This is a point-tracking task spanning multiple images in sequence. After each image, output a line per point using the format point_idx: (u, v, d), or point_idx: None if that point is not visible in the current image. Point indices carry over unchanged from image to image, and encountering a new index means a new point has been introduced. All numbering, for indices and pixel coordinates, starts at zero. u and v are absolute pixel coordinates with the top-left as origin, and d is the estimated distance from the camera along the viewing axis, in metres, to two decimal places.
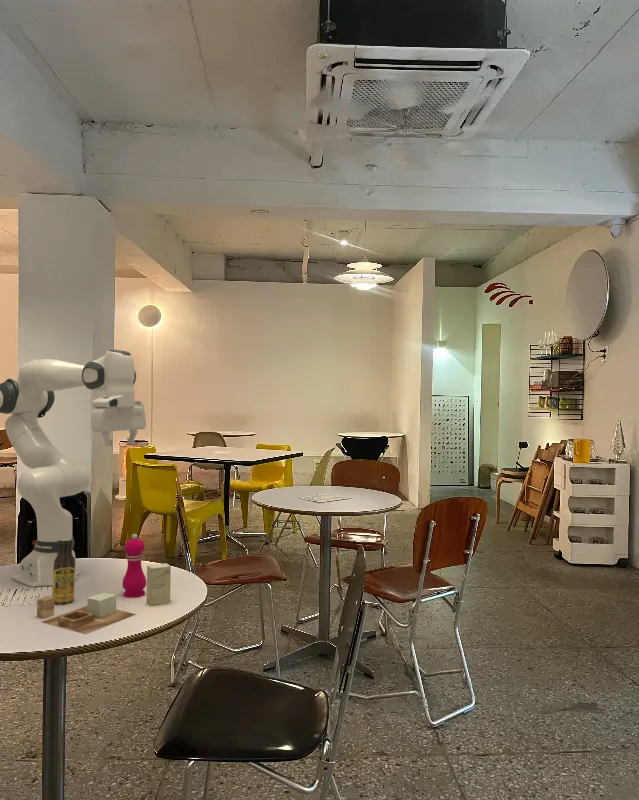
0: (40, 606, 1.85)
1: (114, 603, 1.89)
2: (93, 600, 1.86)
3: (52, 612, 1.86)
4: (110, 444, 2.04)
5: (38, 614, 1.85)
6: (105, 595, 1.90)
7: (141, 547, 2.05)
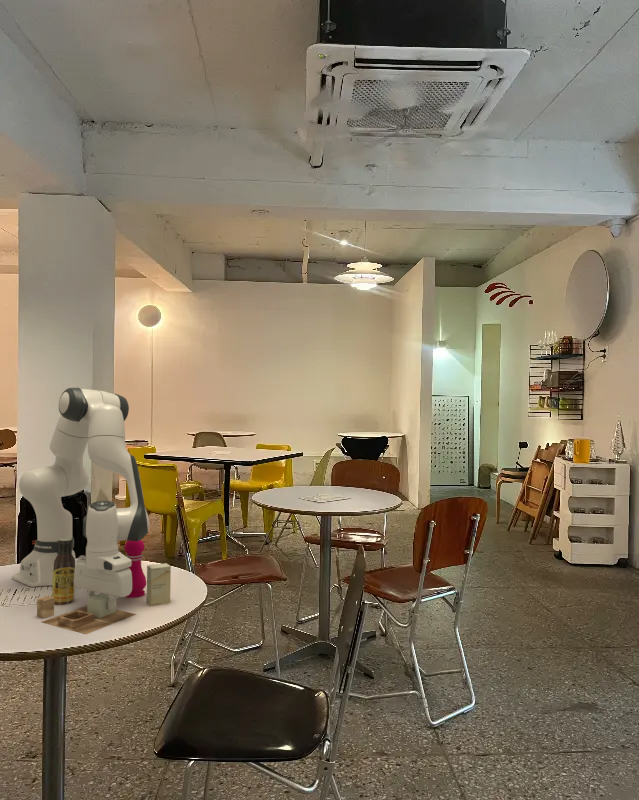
0: (40, 606, 1.85)
1: (114, 603, 1.89)
2: (93, 600, 1.86)
3: (52, 612, 1.86)
4: None
5: (38, 614, 1.85)
6: (105, 595, 1.90)
7: (141, 547, 2.05)
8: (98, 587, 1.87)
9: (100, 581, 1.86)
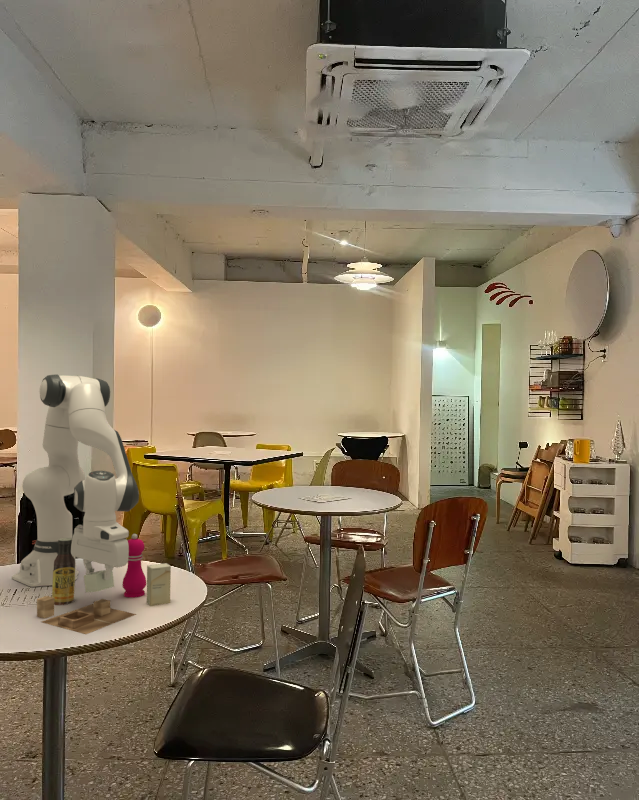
0: (40, 606, 1.85)
1: (111, 577, 1.89)
2: (89, 575, 1.86)
3: (52, 612, 1.86)
4: None
5: (38, 614, 1.85)
6: (101, 571, 1.90)
7: (141, 547, 2.05)
8: (95, 557, 1.86)
9: (96, 550, 1.86)
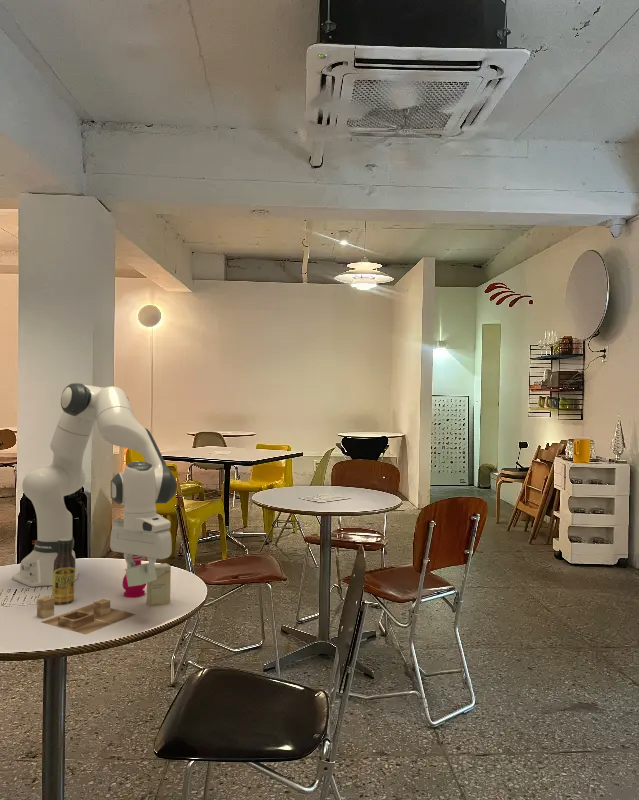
0: (40, 606, 1.85)
1: (153, 570, 1.84)
2: (131, 569, 1.81)
3: (52, 612, 1.86)
4: None
5: (38, 614, 1.85)
6: (142, 564, 1.85)
7: None
8: (137, 550, 1.81)
9: (138, 543, 1.81)
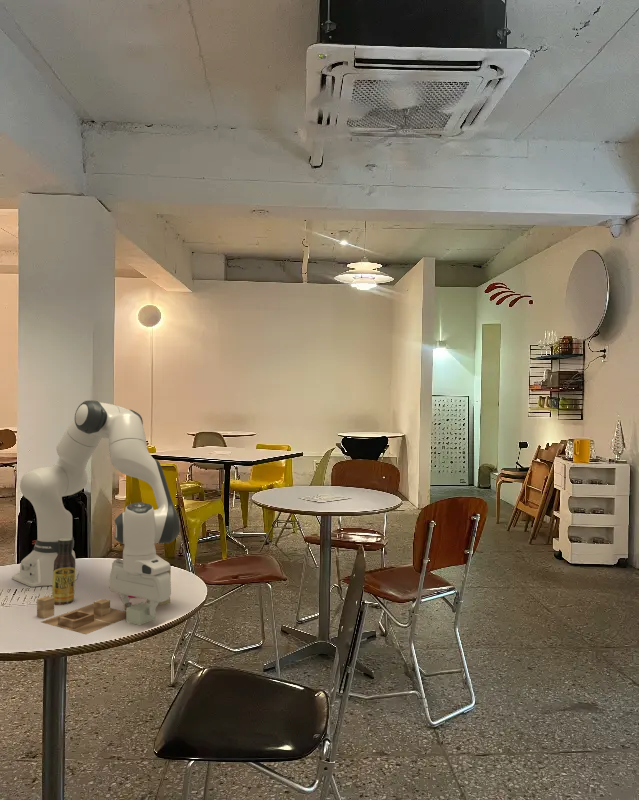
0: (40, 606, 1.85)
1: None
2: (132, 610, 1.81)
3: (52, 612, 1.86)
4: None
5: (38, 614, 1.85)
6: (144, 605, 1.84)
7: None
8: (136, 591, 1.81)
9: (137, 585, 1.81)
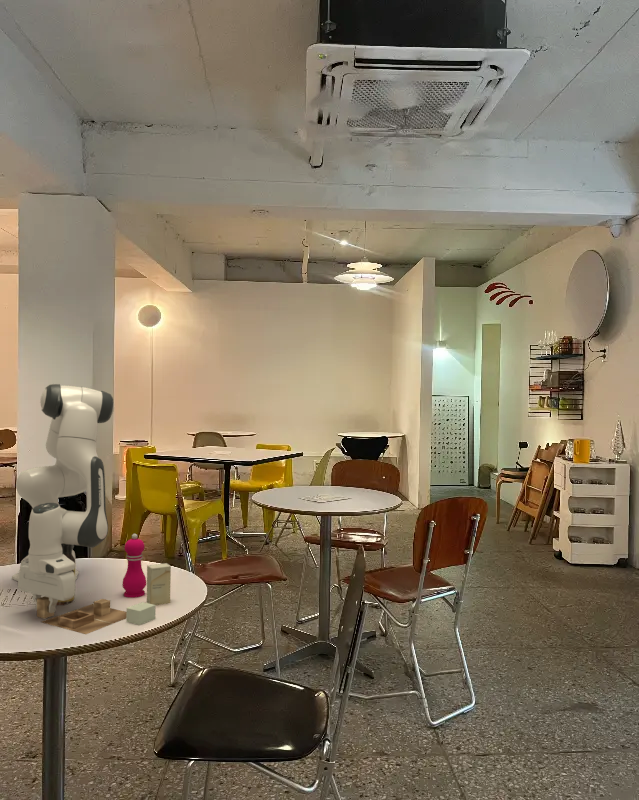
0: (40, 606, 1.85)
1: (153, 613, 1.84)
2: (132, 610, 1.81)
3: None
4: None
5: (38, 614, 1.85)
6: (144, 605, 1.84)
7: (142, 547, 2.05)
8: (41, 590, 1.84)
9: (42, 584, 1.84)
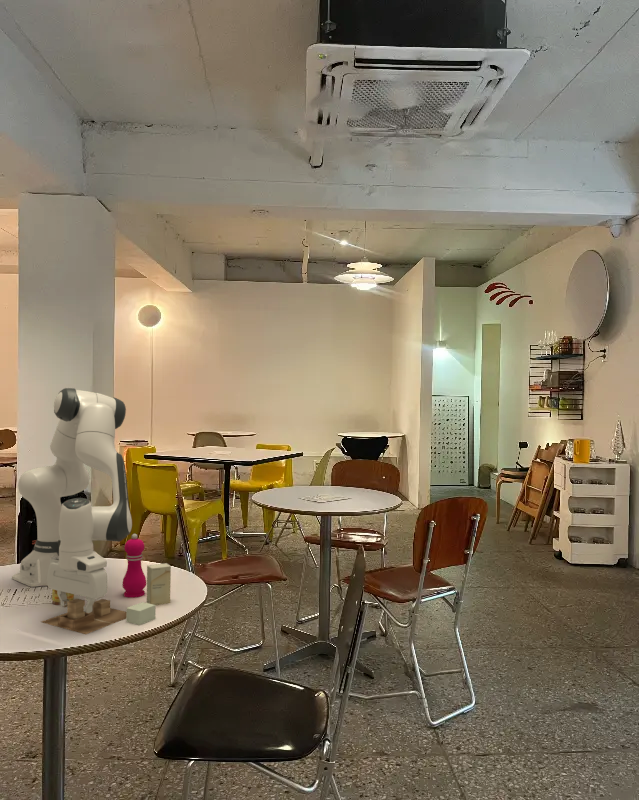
0: (71, 609, 1.79)
1: (153, 613, 1.84)
2: (132, 610, 1.81)
3: (83, 615, 1.81)
4: None
5: (69, 617, 1.80)
6: (144, 605, 1.84)
7: (141, 547, 2.05)
8: (72, 588, 1.79)
9: (73, 582, 1.78)
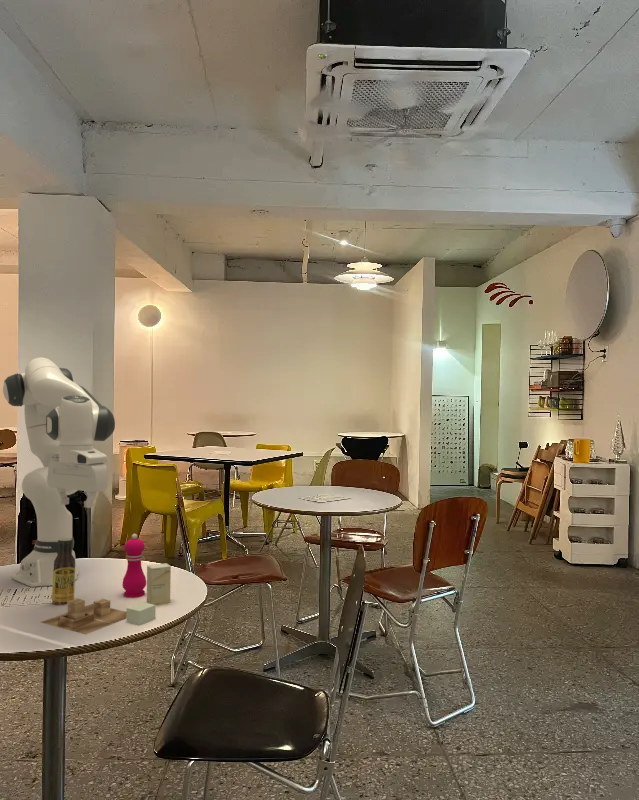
0: (71, 609, 1.79)
1: (153, 613, 1.84)
2: (132, 610, 1.81)
3: (83, 615, 1.81)
4: None
5: (69, 617, 1.80)
6: (144, 605, 1.84)
7: (141, 547, 2.05)
8: (72, 484, 1.78)
9: (74, 477, 1.78)
